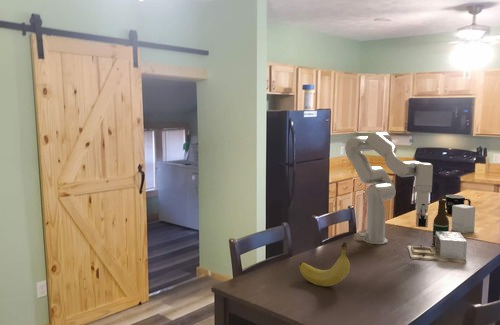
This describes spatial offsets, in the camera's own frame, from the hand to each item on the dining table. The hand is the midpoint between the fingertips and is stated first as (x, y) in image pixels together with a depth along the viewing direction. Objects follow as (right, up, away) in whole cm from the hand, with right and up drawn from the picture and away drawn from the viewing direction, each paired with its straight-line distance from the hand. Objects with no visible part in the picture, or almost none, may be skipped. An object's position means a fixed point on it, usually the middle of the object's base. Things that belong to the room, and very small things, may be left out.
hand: (421, 224), depth 203 cm
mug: (+60, -5, +90) cm, 108 cm away
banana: (-54, -20, -35) cm, 67 cm away
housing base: (+7, -15, +1) cm, 17 cm away
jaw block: (0, -1, 0) cm, 1 cm away
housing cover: (+14, -14, -1) cm, 19 cm away
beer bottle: (+17, -13, +18) cm, 28 cm away
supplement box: (+43, -10, +44) cm, 62 cm away
